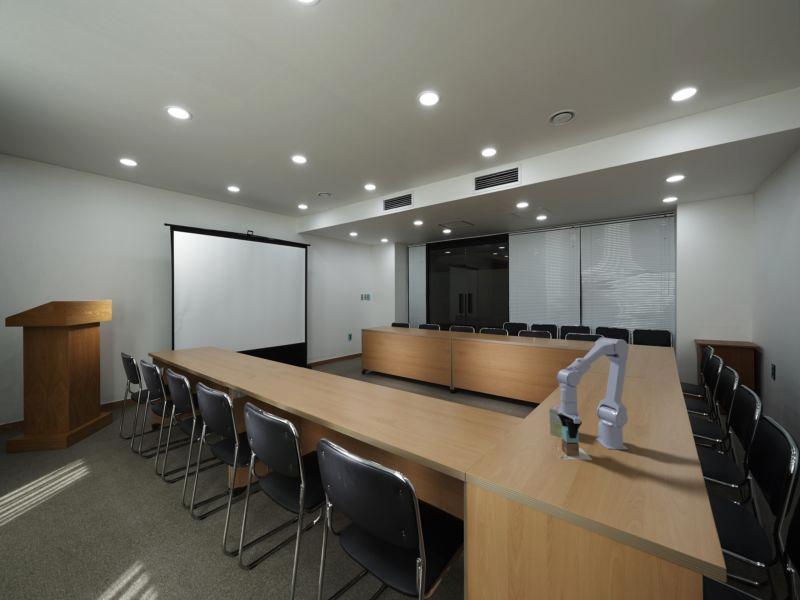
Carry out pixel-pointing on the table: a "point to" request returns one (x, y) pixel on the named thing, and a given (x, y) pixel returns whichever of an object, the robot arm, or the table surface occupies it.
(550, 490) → the table surface
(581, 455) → the baseplate
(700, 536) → the table surface
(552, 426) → the box
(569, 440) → the brick teal
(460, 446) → the table surface
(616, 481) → the table surface
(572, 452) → the brick walnut
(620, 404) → the robot arm
